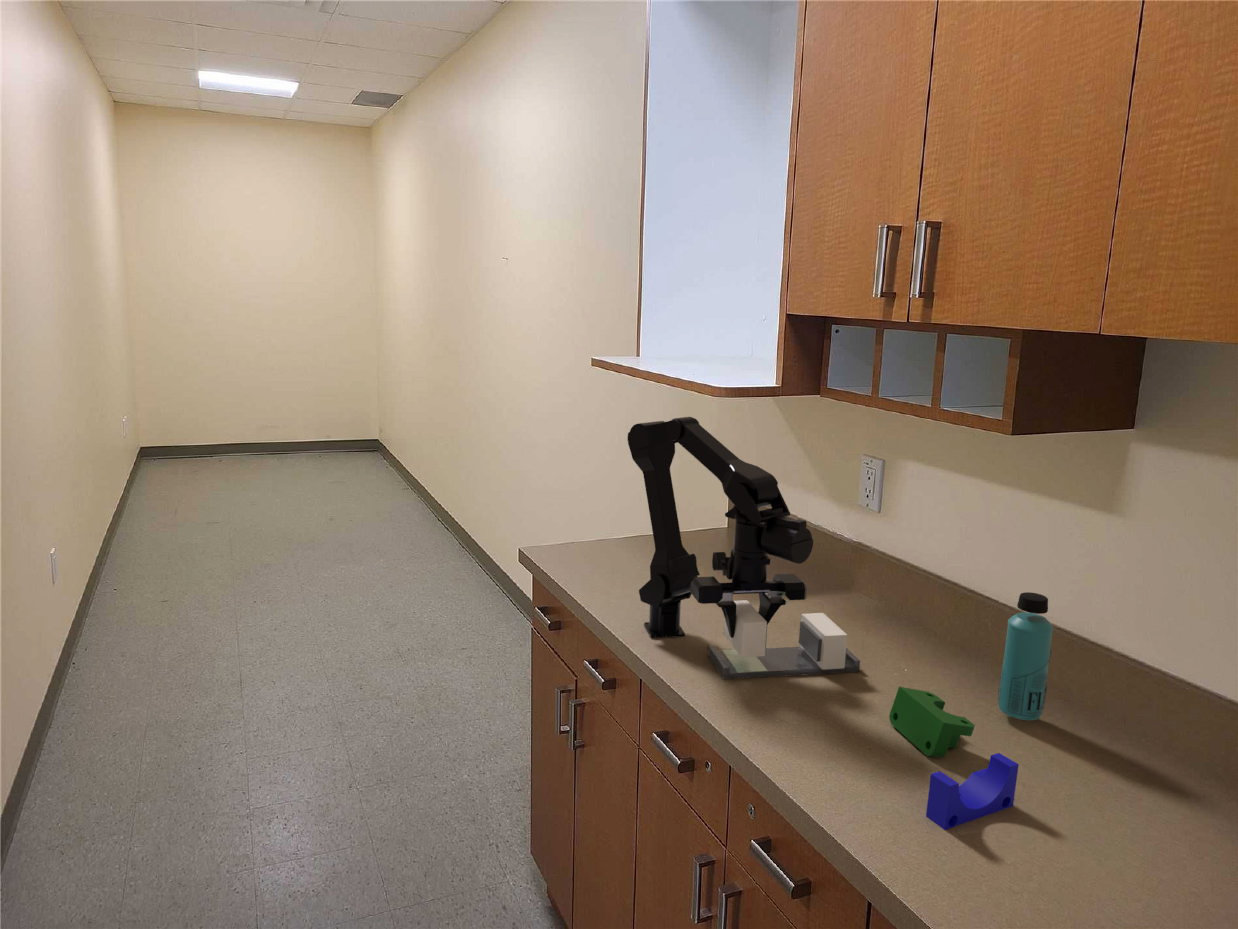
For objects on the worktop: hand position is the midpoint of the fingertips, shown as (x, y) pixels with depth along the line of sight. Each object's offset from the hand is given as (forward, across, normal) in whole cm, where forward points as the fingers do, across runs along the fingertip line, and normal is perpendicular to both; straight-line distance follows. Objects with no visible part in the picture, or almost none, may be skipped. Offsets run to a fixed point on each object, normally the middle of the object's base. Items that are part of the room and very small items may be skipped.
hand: (745, 636), depth 150 cm
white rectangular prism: (+2, 0, 0) cm, 2 cm away
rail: (+5, -7, 0) cm, 9 cm away
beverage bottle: (+6, -36, +24) cm, 43 cm away
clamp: (+6, -19, +27) cm, 34 cm away
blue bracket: (+6, -15, +44) cm, 46 cm away
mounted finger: (+4, -14, 0) cm, 14 cm away
